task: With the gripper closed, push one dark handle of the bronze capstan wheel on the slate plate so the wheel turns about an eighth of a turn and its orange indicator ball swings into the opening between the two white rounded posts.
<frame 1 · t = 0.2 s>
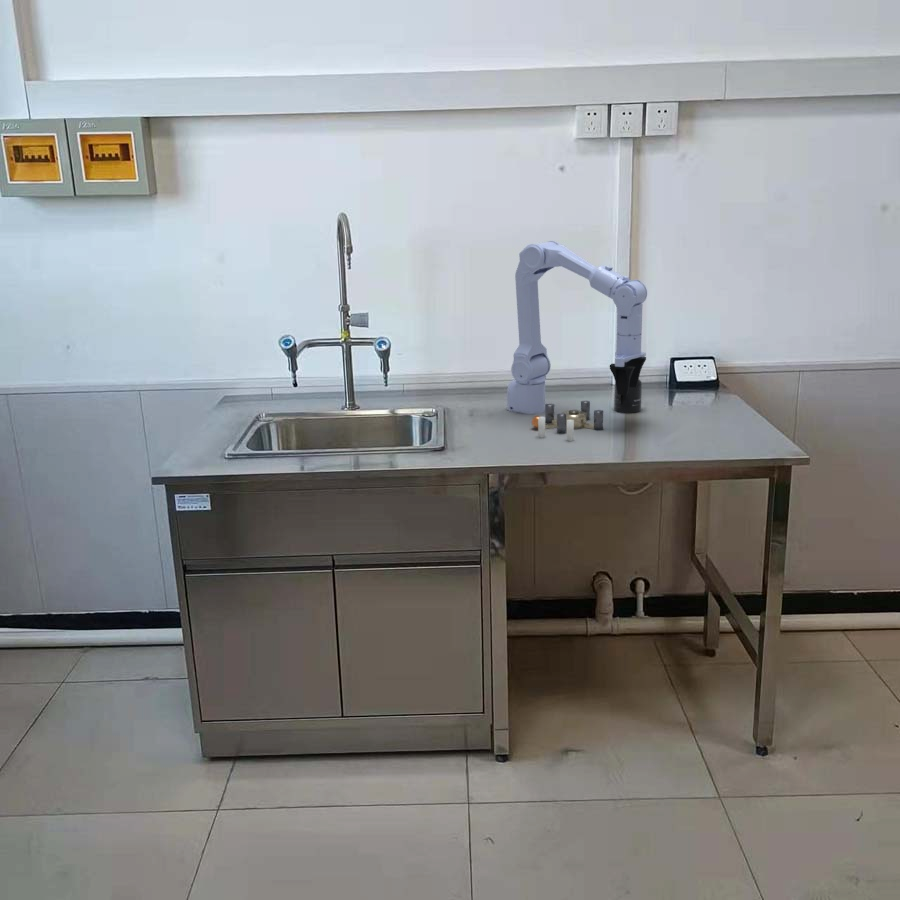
hand: (627, 390, 210), 10 cm above the countertop, fingers open, 7 cm apart
capstan: (572, 416, 214), point 3 cm above the countertop, hinge at 0.0°
supplement bottle: (627, 415, 227), on the countertop
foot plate: (571, 431, 214), on the countertop
white rounded posts: (573, 430, 215), resting on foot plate
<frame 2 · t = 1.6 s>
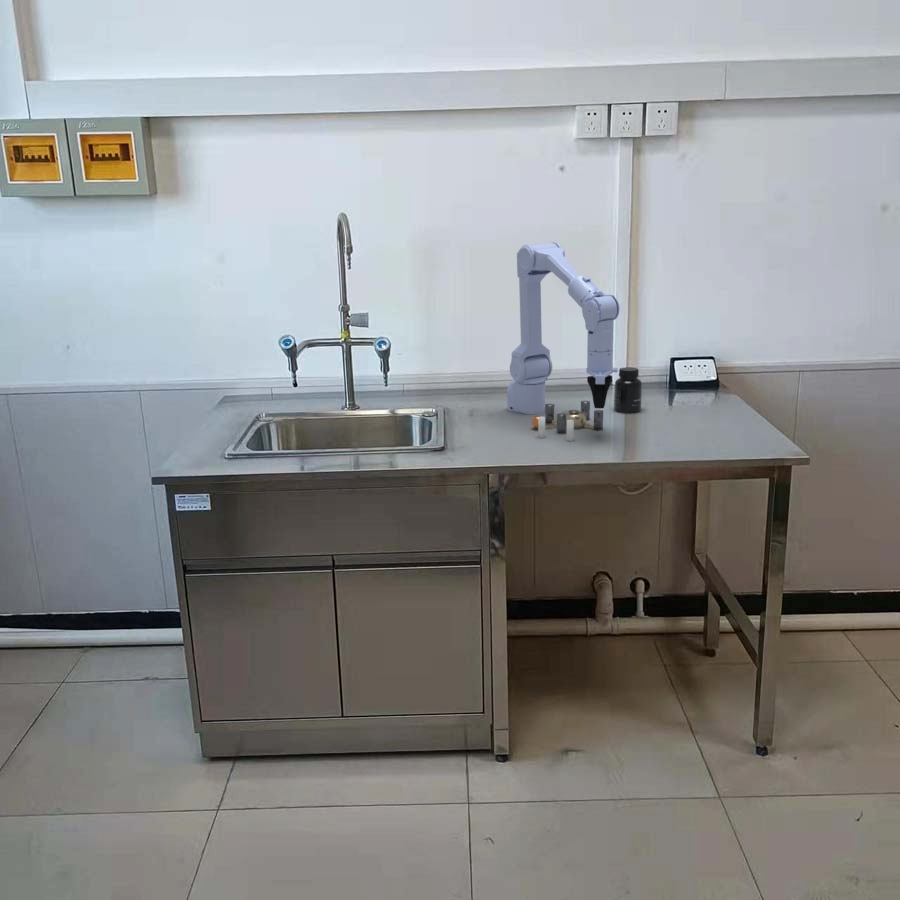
hand: (599, 407, 204), 8 cm above the countertop, fingers closed
nothing on the countertop moved.
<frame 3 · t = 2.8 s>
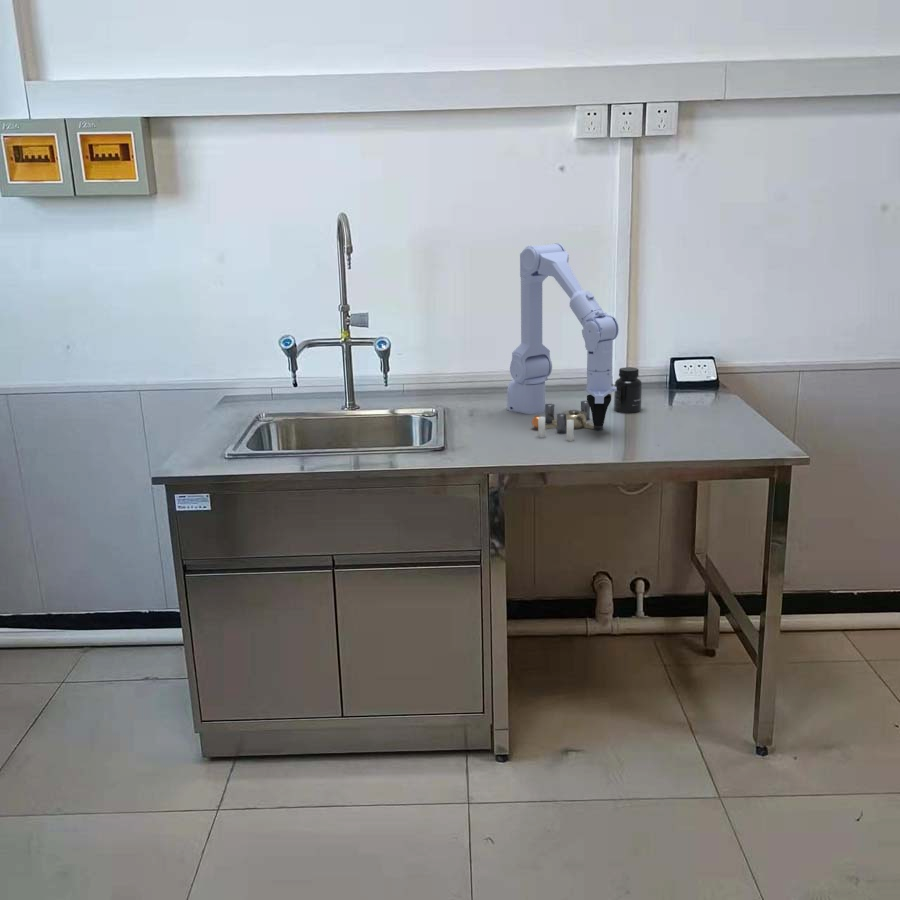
hand: (598, 425, 208), 3 cm above the countertop, fingers closed, pressing on capstan
capstan: (572, 416, 214), point 4 cm above the countertop, hinge at 0.0°, touching gripper
everything else where it was.
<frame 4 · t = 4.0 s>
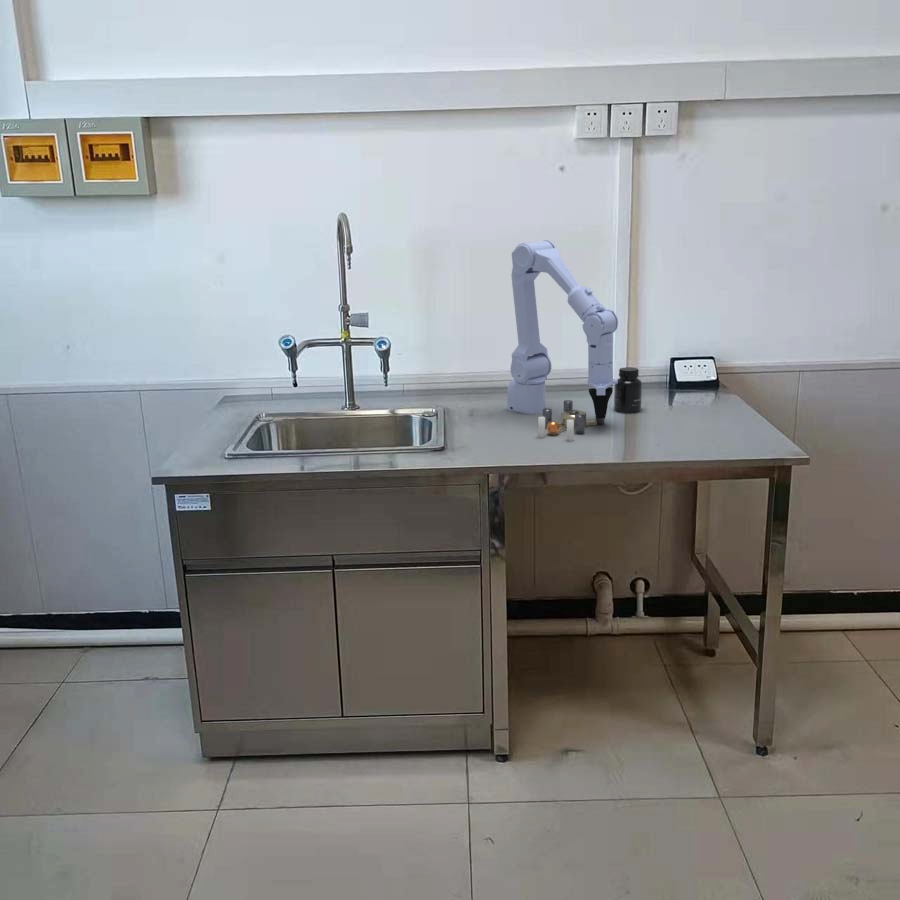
hand: (600, 417, 213), 3 cm above the countertop, fingers closed, pressing on capstan
capstan: (573, 416, 214), point 3 cm above the countertop, hinge at 38.4°, touching gripper
everything else where it was.
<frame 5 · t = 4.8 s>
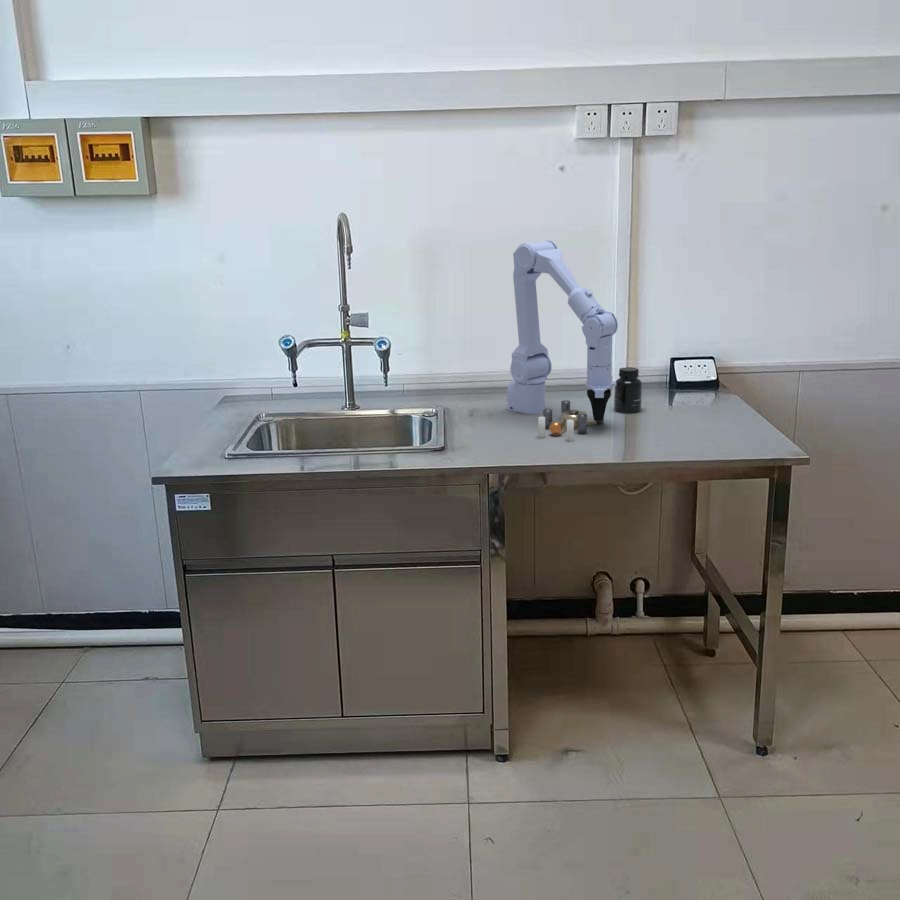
hand: (598, 419, 212), 3 cm above the countertop, fingers closed
capstan: (573, 416, 214), point 3 cm above the countertop, hinge at 43.5°
everything else where it was.
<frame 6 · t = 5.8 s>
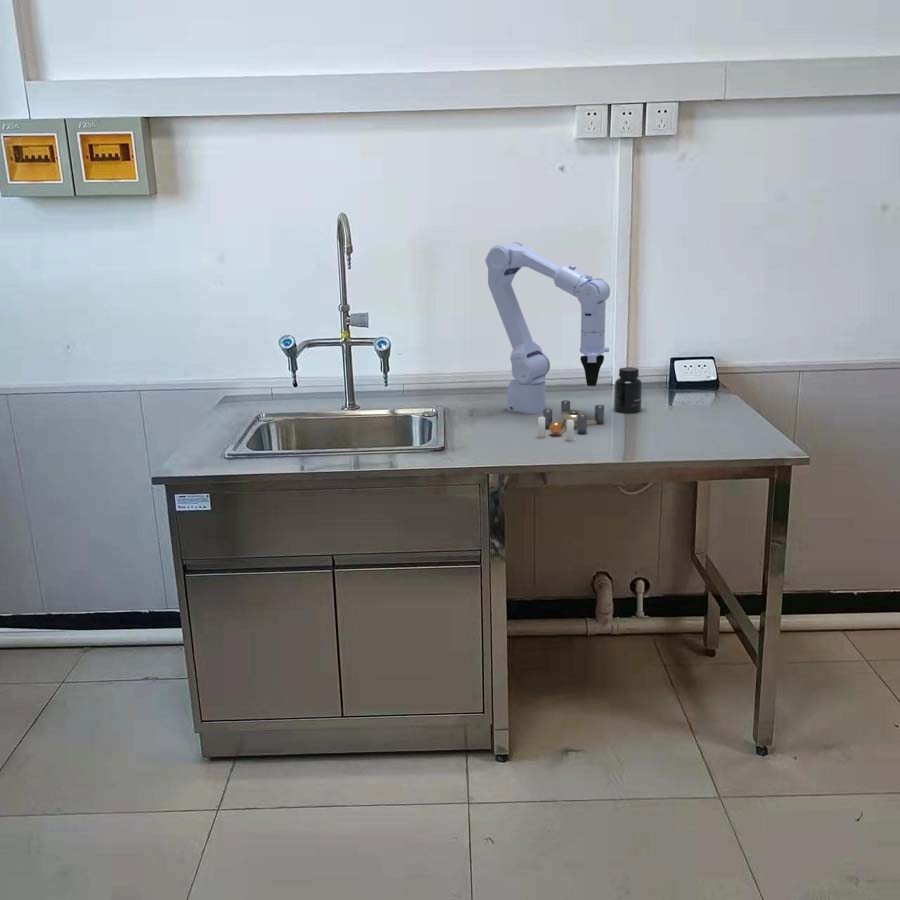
hand: (591, 385, 217), 10 cm above the countertop, fingers closed
nothing on the countertop moved.
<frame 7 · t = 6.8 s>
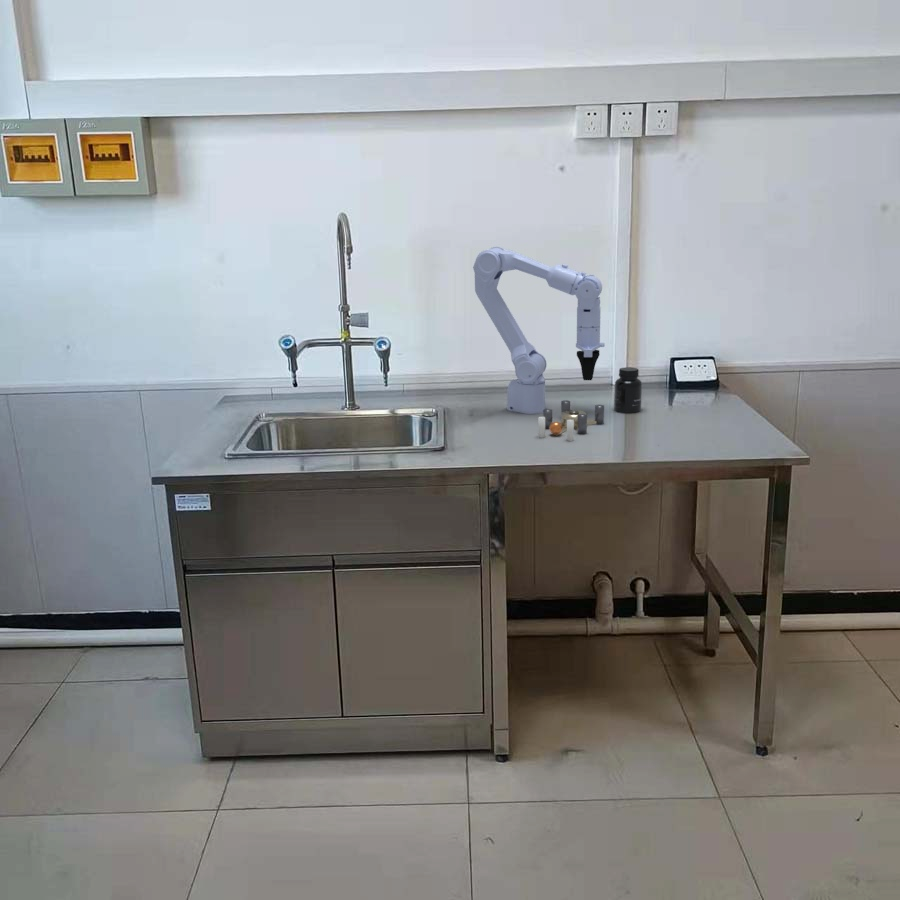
hand: (587, 379, 222), 10 cm above the countertop, fingers closed
nothing on the countertop moved.
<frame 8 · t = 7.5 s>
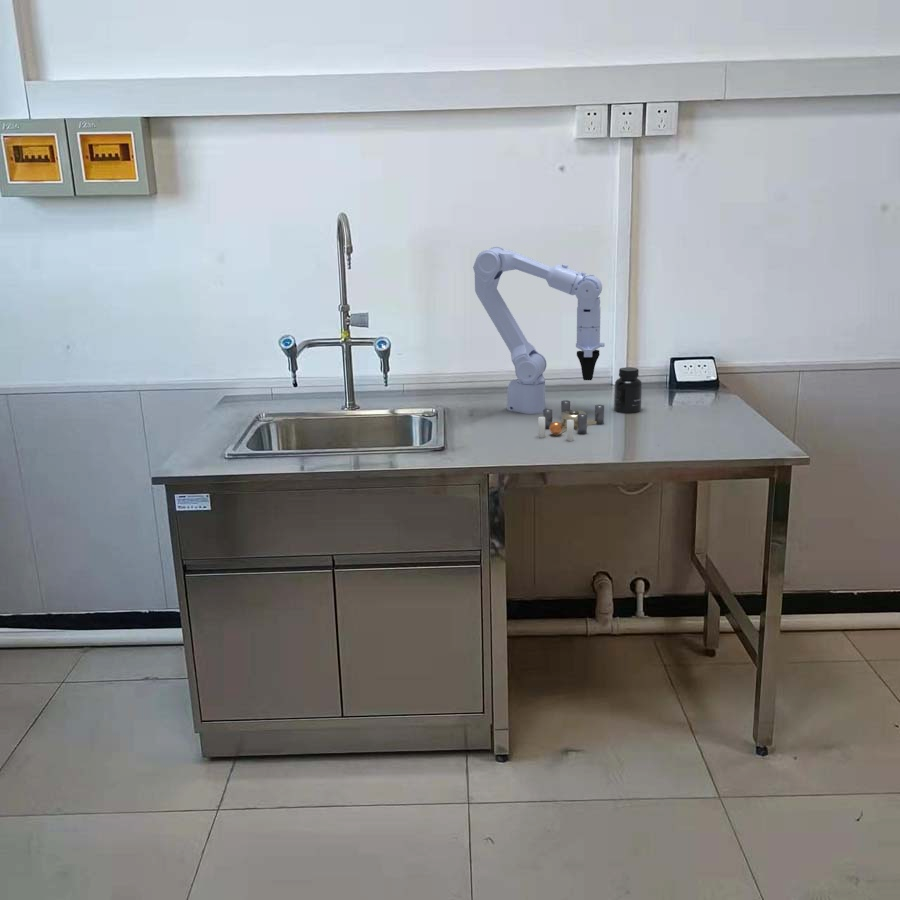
hand: (587, 379, 222), 10 cm above the countertop, fingers closed
nothing on the countertop moved.
at the end: capstan at +44° (first picture: +0°) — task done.
